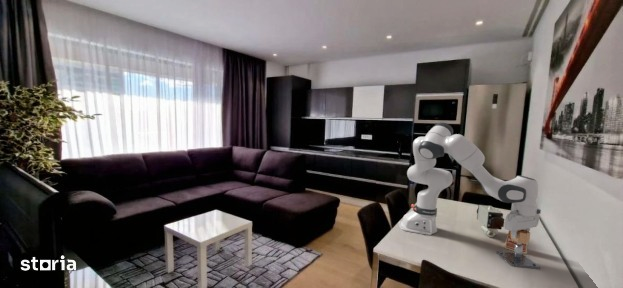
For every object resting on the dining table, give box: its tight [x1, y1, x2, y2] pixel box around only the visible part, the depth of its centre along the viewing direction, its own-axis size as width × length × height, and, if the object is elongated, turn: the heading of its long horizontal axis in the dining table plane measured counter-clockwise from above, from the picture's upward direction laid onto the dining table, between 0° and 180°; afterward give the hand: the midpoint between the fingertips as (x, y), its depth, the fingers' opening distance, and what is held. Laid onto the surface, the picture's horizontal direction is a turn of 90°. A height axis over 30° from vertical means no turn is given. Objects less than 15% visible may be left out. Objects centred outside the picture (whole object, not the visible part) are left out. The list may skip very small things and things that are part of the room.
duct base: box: [496, 242, 541, 270], centre depth 122 cm, size 12×12×10 cm
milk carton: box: [503, 230, 528, 255], centre depth 133 cm, size 9×9×20 cm
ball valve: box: [476, 204, 505, 238], centre depth 150 cm, size 18×8×18 cm, turn 168°
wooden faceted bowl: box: [510, 229, 531, 245], centre depth 121 cm, size 7×7×5 cm
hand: (519, 237), depth 121 cm, fingers closed on wooden faceted bowl, 7 cm apart
